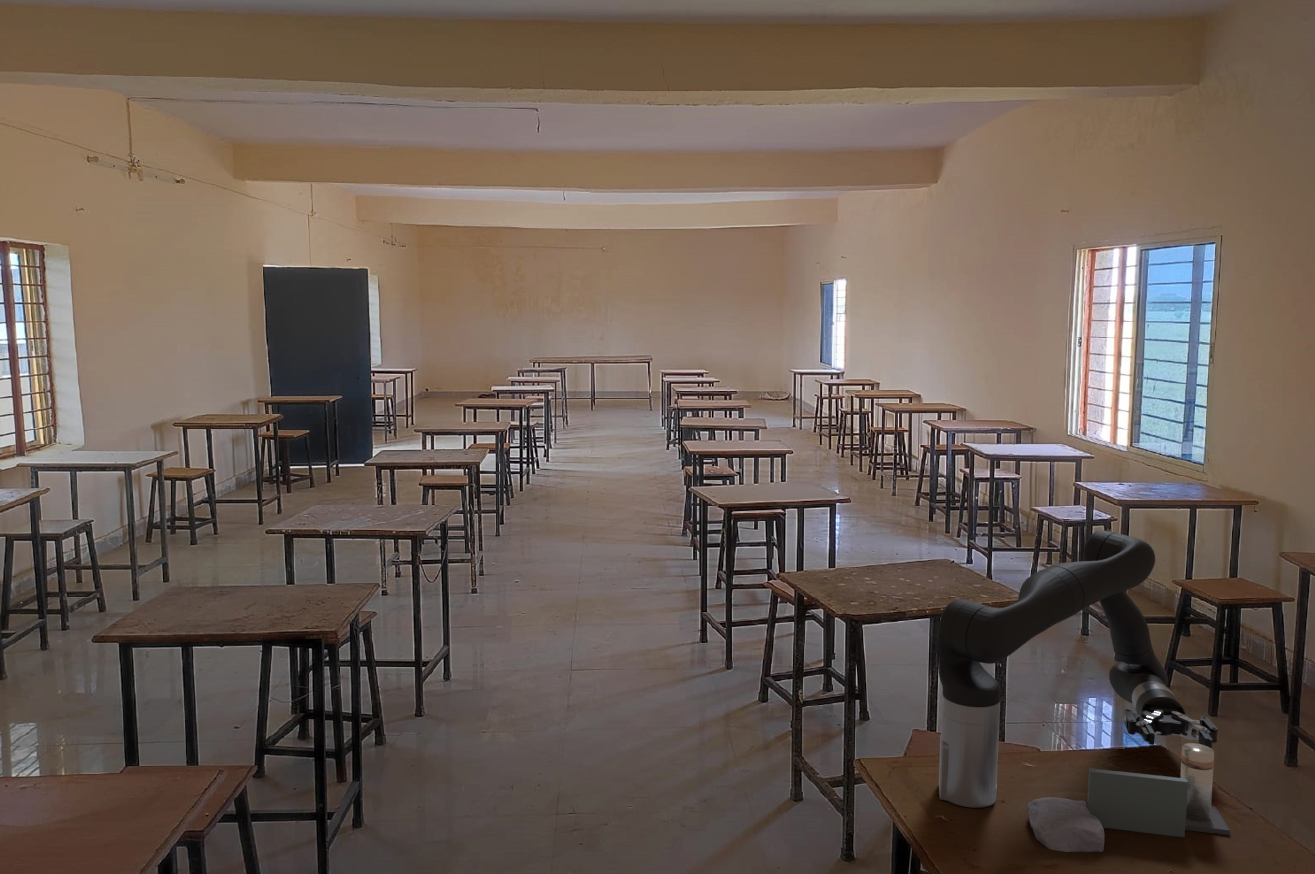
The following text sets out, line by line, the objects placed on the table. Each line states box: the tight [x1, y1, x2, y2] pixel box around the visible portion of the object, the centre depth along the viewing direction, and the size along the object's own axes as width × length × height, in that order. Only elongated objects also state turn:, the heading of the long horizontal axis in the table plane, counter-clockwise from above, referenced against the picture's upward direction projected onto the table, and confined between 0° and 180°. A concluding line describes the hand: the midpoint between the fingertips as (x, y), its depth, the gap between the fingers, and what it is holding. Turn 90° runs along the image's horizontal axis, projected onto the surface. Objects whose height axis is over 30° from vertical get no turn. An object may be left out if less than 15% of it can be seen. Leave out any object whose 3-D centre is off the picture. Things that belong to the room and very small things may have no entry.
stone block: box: [1026, 796, 1106, 853], centre depth 152 cm, size 12×5×10 cm
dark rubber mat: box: [1185, 805, 1231, 836], centre depth 156 cm, size 8×8×1 cm
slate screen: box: [1086, 768, 1188, 838], centre depth 153 cm, size 14×1×9 cm, turn 75°
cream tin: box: [1179, 742, 1215, 821], centre depth 156 cm, size 5×5×11 cm
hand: (1179, 742), depth 166 cm, fingers open, 8 cm apart
